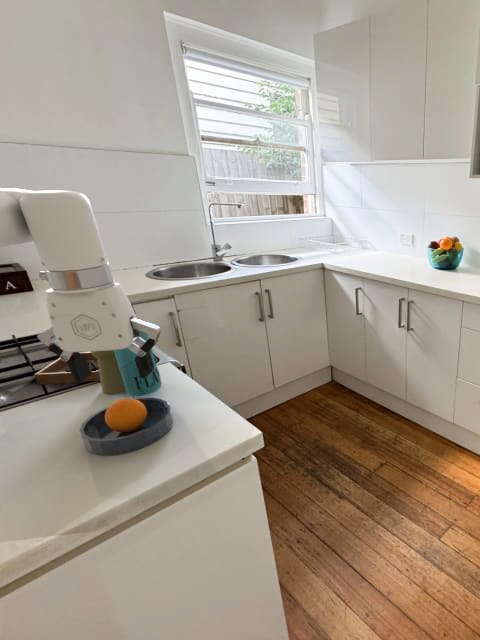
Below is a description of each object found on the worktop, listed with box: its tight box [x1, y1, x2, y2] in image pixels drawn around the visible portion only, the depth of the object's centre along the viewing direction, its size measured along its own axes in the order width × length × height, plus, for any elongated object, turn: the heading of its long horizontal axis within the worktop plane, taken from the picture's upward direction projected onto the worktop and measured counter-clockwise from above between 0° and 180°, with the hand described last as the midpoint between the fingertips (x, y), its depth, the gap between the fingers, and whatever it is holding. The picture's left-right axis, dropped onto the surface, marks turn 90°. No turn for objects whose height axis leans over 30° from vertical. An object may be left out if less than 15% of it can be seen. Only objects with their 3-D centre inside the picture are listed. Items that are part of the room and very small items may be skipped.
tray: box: [33, 352, 101, 385], centre depth 89 cm, size 13×11×2 cm
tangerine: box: [105, 397, 147, 432], centre depth 68 cm, size 6×6×6 cm
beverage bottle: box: [114, 303, 162, 397], centre depth 76 cm, size 6×7×20 cm
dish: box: [78, 397, 175, 457], centre depth 69 cm, size 13×13×3 cm
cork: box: [91, 350, 127, 396], centre depth 81 cm, size 6×6×11 cm
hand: (116, 376), depth 65 cm, fingers open, 9 cm apart
